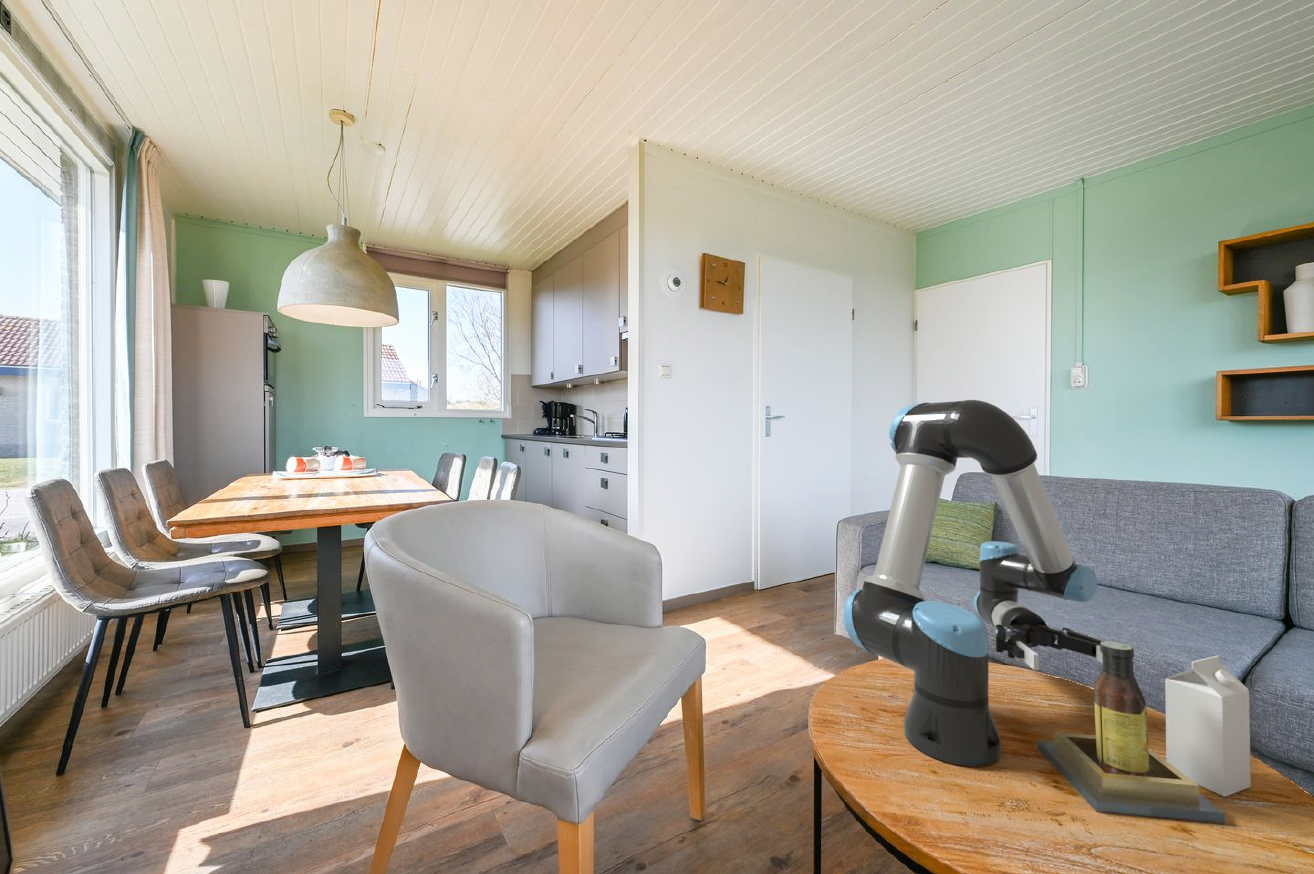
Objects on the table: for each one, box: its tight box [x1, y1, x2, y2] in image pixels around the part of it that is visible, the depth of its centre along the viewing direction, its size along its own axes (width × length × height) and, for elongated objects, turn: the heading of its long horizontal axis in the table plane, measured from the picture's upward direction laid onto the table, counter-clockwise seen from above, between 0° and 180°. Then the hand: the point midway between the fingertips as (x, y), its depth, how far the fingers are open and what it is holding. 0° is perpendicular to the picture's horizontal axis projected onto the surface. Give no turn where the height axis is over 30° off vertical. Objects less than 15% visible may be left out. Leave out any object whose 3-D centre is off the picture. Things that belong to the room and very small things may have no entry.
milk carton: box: [1164, 655, 1252, 798], centre depth 85 cm, size 7×7×19 cm
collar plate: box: [1036, 731, 1226, 825], centre depth 84 cm, size 16×16×4 cm
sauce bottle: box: [1093, 640, 1149, 777], centre depth 84 cm, size 7×6×20 cm
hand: (1079, 664), depth 95 cm, fingers open, 13 cm apart
